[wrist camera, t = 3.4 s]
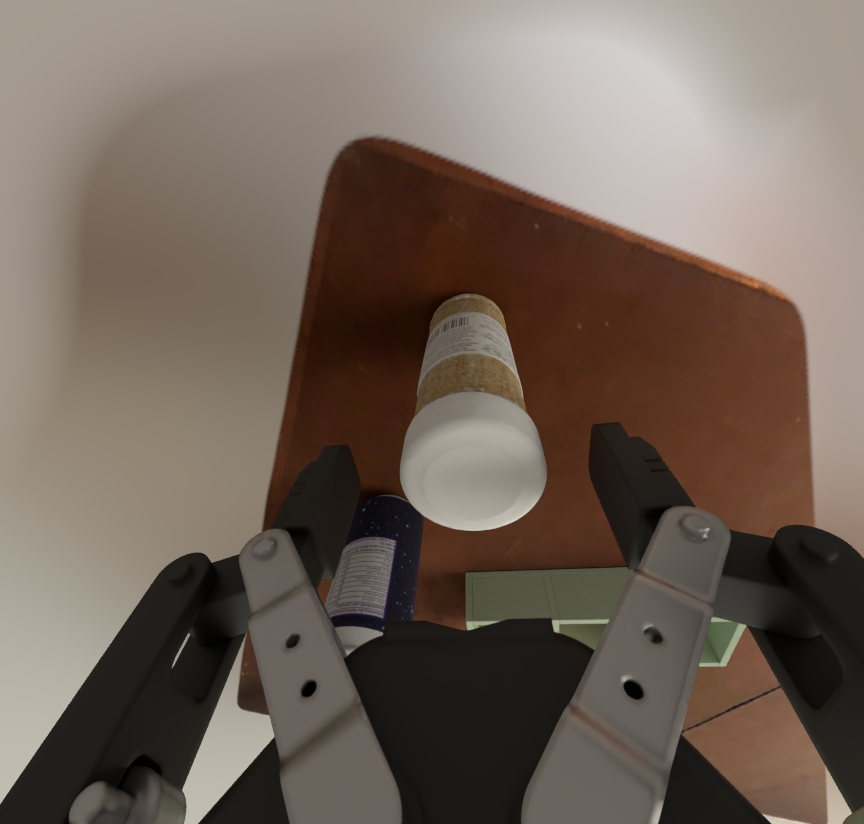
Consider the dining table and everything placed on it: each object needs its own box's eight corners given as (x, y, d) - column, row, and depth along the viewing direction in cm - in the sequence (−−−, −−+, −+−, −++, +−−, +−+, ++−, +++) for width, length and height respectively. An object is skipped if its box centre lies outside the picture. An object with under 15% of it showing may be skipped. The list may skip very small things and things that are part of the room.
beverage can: (350, 524, 33) (299, 682, 23) (365, 479, 30) (315, 637, 20) (412, 542, 34) (390, 703, 24) (433, 499, 31) (419, 662, 21)
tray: (716, 563, 32) (750, 617, 29) (698, 613, 36) (725, 666, 33) (465, 572, 35) (465, 621, 32) (473, 617, 39) (474, 666, 35)
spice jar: (443, 371, 25) (425, 546, 13) (419, 303, 22) (373, 444, 11) (514, 352, 24) (561, 524, 12) (496, 279, 21) (534, 407, 10)
